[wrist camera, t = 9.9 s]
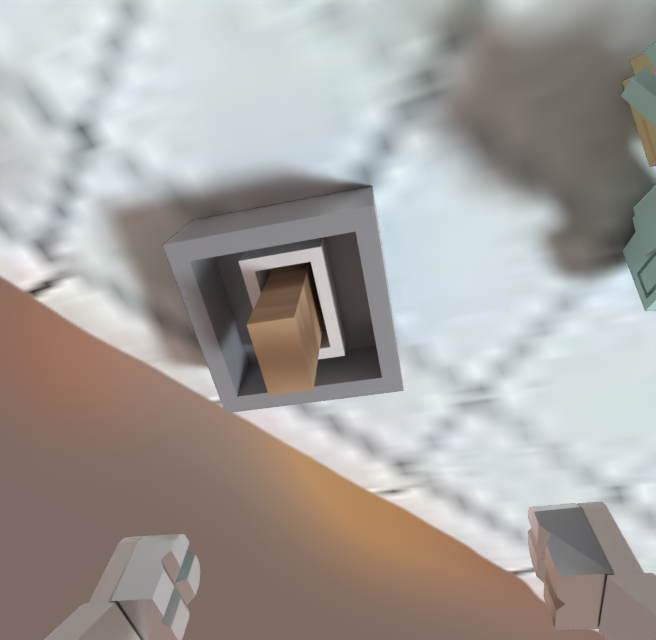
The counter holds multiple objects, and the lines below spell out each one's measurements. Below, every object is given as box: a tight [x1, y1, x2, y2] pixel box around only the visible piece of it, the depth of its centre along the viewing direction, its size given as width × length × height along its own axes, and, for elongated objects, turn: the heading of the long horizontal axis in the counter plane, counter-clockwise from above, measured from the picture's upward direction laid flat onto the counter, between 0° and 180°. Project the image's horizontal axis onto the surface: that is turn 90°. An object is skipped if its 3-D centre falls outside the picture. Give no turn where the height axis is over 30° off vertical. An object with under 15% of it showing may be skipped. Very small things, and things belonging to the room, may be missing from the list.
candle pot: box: [163, 186, 404, 413], centre depth 30 cm, size 12×12×5 cm
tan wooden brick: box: [247, 262, 324, 396], centre depth 28 cm, size 4×2×8 cm, turn 11°
